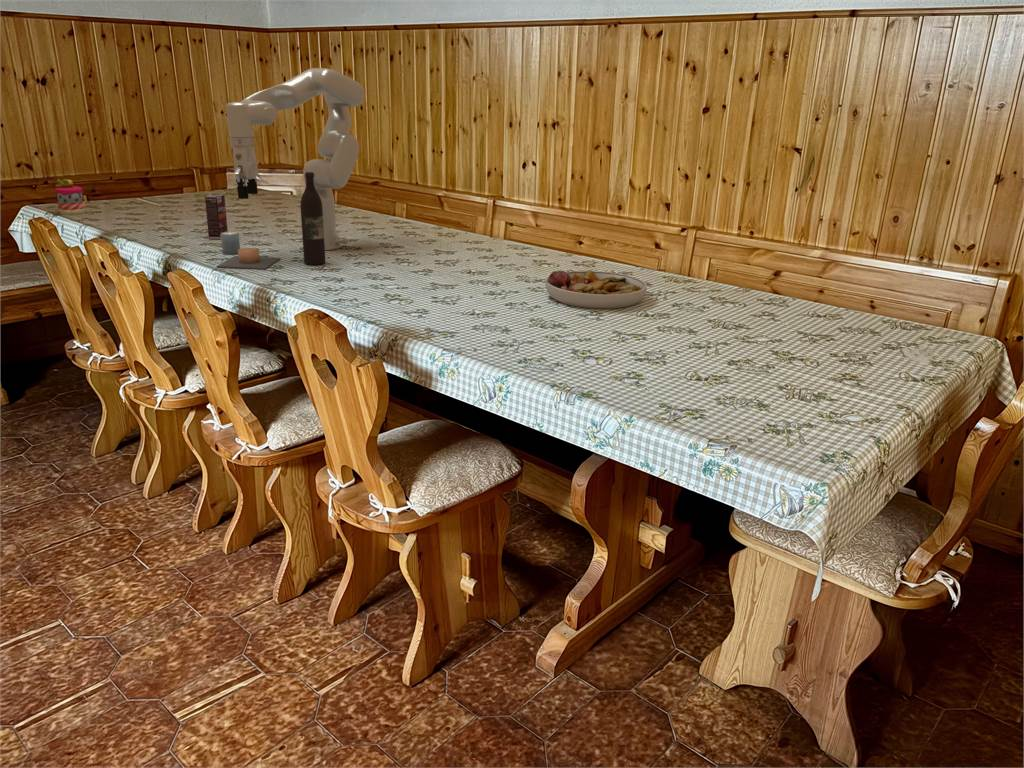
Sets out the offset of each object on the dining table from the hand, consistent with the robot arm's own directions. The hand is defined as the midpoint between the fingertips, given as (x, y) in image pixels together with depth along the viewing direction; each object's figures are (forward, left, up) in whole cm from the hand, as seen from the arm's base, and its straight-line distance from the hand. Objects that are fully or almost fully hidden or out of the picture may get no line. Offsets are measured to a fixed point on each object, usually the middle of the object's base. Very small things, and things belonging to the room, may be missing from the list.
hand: (248, 196), depth 262 cm
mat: (0, +6, -21) cm, 22 cm away
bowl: (-114, +34, -22) cm, 121 cm away
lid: (0, +6, -21) cm, 22 cm away
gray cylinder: (+12, -10, -21) cm, 26 cm away
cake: (+108, -79, -22) cm, 135 cm away
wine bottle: (-21, +2, -22) cm, 31 cm away
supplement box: (+27, -37, -22) cm, 51 cm away
